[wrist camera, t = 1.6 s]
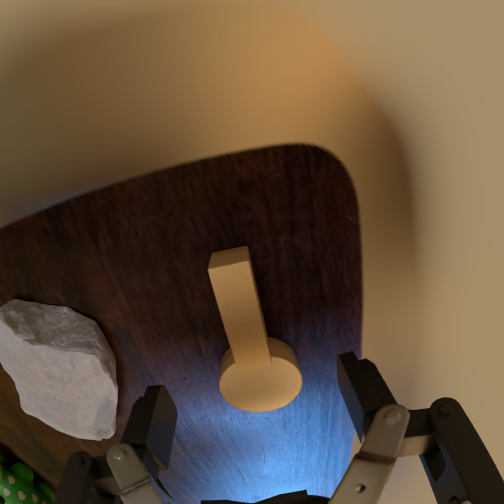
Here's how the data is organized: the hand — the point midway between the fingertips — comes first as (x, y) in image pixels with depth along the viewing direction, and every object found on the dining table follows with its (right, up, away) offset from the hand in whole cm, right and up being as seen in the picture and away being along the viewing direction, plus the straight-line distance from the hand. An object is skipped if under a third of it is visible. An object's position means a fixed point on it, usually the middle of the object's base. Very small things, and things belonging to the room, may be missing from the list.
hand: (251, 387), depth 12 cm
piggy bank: (-41, -33, +16) cm, 55 cm away
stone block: (-14, -3, +7) cm, 16 cm away
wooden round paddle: (0, +2, +5) cm, 6 cm away
